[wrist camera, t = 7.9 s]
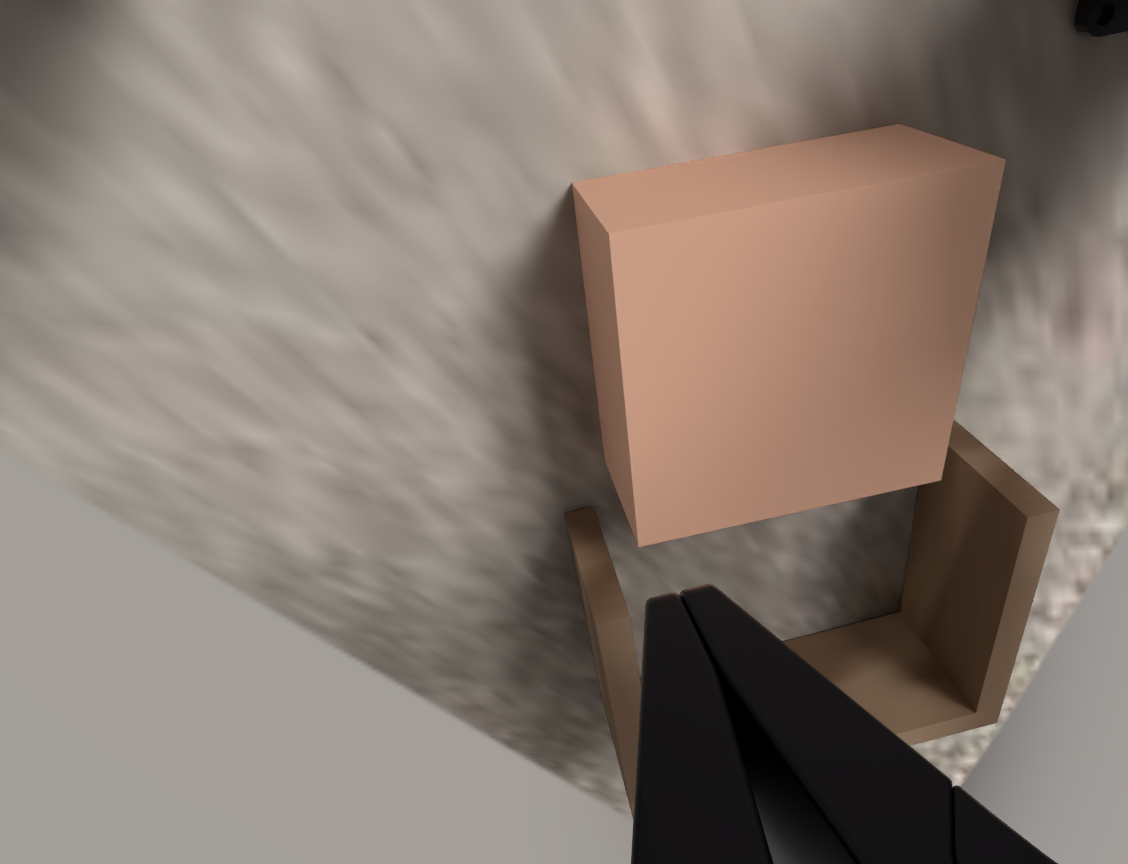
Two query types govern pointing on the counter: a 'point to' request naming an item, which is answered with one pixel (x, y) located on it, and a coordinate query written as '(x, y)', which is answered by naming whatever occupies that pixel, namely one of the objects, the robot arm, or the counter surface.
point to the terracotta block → (782, 322)
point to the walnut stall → (893, 642)
